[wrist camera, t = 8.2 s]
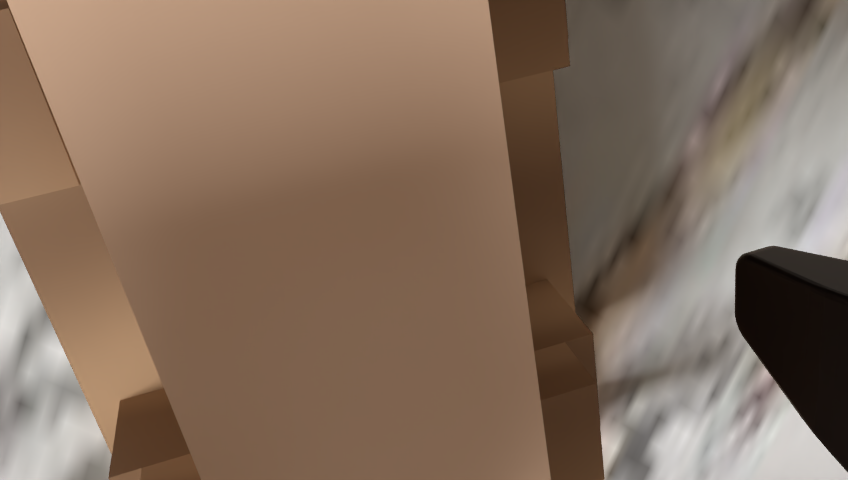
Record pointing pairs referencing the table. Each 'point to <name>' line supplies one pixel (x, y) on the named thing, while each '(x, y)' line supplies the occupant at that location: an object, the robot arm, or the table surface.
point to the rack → (117, 326)
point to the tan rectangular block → (308, 227)
